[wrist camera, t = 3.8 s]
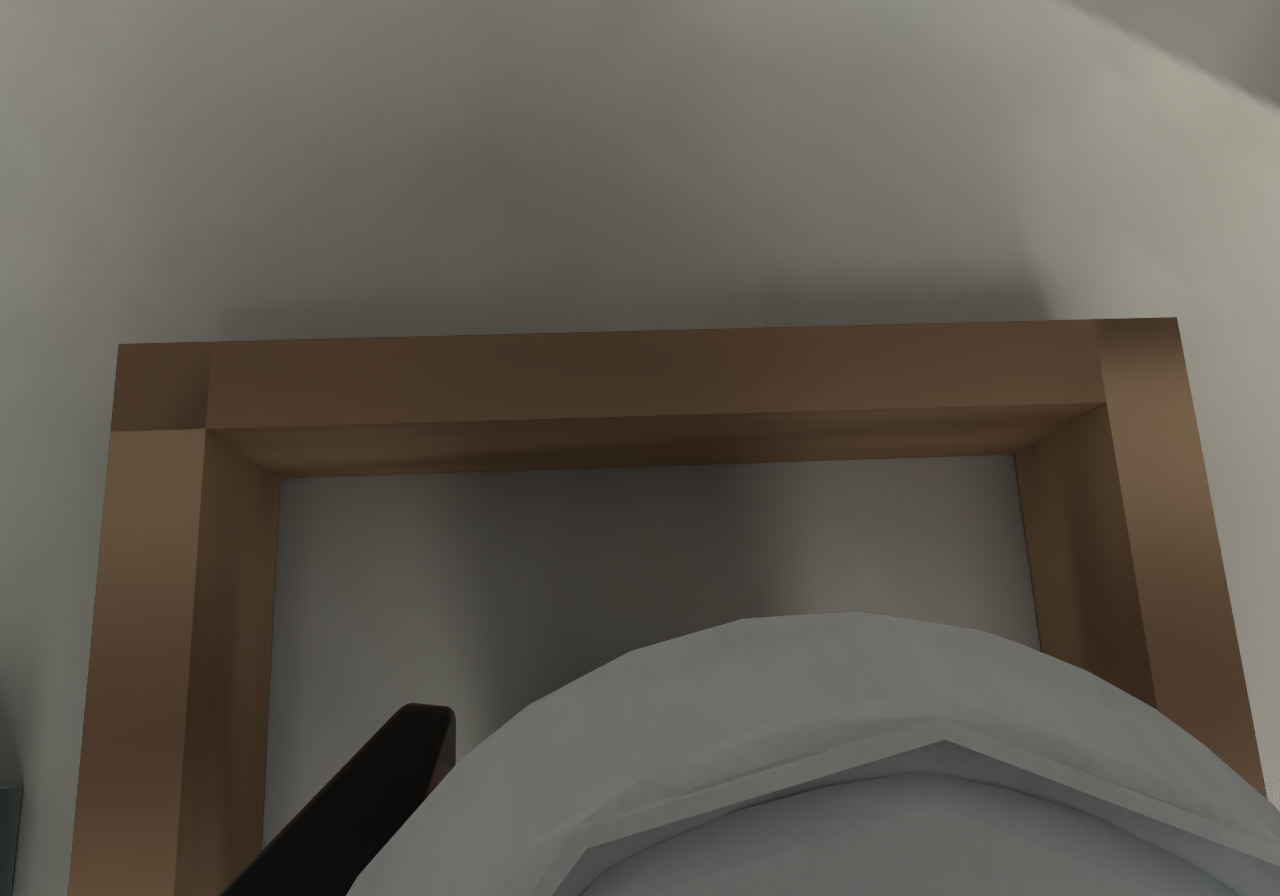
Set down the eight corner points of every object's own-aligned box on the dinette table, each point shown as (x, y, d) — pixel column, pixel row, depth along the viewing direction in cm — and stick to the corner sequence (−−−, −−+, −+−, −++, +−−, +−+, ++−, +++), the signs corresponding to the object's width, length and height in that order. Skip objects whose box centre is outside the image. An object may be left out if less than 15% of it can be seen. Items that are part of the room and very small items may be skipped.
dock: (1186, 1096, 14) (1343, 1204, 11) (156, 1166, 13) (29, 1302, 10) (1073, 383, 16) (1176, 316, 13) (207, 407, 16) (119, 344, 13)
